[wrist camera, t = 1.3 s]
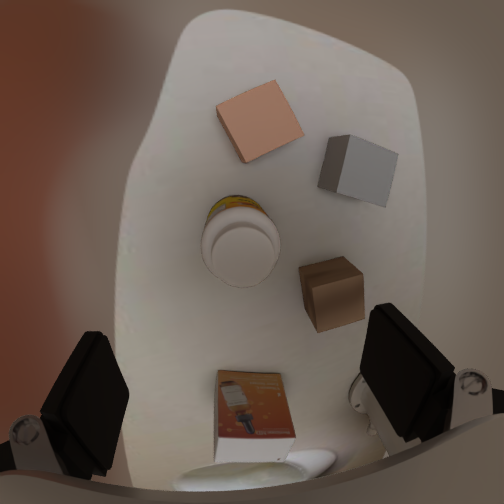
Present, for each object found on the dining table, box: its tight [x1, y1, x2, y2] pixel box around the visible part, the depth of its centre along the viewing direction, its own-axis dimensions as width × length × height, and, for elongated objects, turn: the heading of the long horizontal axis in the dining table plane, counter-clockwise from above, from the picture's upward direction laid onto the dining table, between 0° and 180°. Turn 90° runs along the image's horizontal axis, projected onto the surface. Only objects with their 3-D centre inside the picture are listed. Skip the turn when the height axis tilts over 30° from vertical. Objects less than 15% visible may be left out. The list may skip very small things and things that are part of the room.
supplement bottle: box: [201, 195, 281, 288], centre depth 22 cm, size 6×6×10 cm
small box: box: [214, 370, 296, 462], centre depth 29 cm, size 8×6×10 cm
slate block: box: [318, 134, 398, 207], centre depth 24 cm, size 5×5×5 cm
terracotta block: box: [216, 80, 304, 163], centre depth 22 cm, size 5×5×5 cm
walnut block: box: [299, 256, 365, 333], centre depth 28 cm, size 5×5×5 cm
